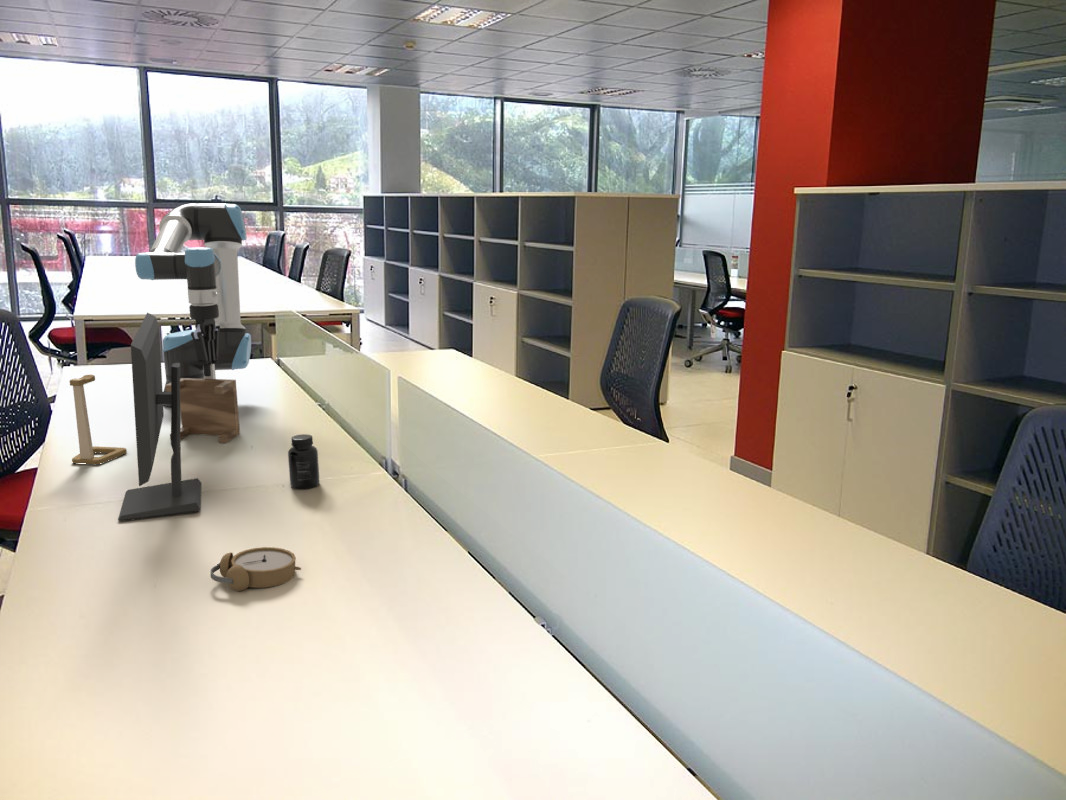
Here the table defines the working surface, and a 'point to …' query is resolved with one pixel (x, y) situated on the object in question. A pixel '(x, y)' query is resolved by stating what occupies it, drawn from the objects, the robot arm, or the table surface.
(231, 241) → the robot arm
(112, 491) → the table surface
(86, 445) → the headphone stand
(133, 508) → the computer monitor
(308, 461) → the supplement bottle
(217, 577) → the alarm clock
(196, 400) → the stool
